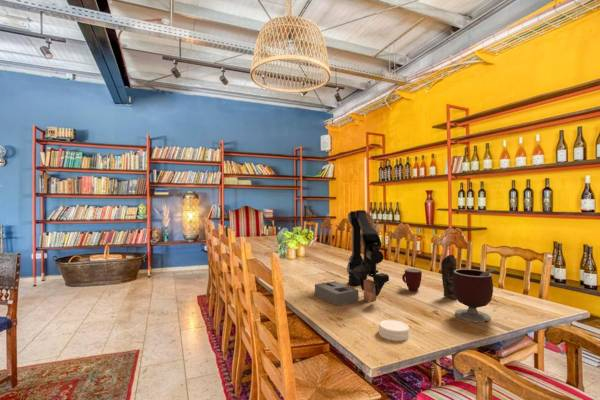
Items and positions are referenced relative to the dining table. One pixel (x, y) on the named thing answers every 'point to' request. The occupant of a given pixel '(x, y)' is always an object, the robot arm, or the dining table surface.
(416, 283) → the mug
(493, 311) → the dining table surface
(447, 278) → the statue
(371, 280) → the peg
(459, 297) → the mate gourd
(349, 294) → the socket board
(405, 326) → the coaster
